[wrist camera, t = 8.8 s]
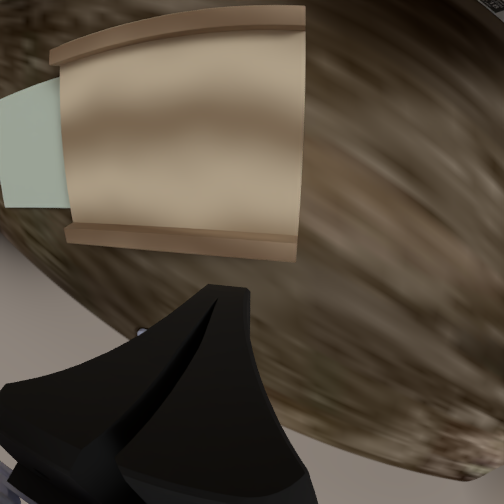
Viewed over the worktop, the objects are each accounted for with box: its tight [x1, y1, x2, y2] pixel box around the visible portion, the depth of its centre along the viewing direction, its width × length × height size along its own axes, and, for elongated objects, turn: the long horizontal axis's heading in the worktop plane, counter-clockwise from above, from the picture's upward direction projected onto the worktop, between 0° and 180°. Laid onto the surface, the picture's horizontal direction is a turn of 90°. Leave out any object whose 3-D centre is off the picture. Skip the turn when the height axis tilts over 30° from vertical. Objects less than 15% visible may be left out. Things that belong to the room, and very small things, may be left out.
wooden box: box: [49, 5, 306, 262], centre depth 15 cm, size 13×14×4 cm
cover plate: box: [0, 77, 71, 208], centre depth 18 cm, size 9×10×2 cm
